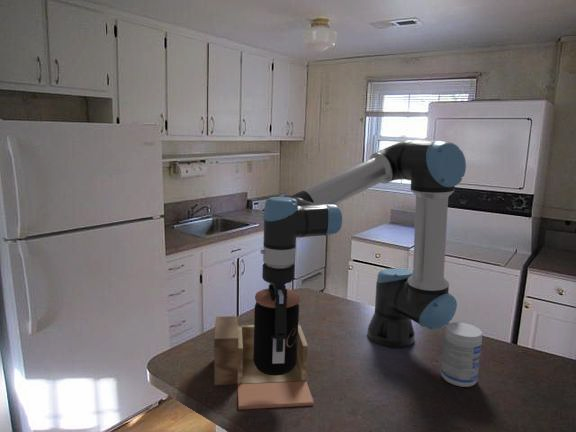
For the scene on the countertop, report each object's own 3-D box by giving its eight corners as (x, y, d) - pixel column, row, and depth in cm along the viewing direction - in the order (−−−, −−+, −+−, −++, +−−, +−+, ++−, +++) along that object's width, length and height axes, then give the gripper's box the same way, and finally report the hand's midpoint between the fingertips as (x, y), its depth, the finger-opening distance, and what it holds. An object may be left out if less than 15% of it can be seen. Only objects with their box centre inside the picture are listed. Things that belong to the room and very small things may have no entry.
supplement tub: (478, 391, 113) (485, 340, 110) (440, 384, 115) (446, 334, 112) (474, 372, 122) (480, 324, 119) (439, 366, 124) (444, 319, 122)
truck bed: (298, 358, 126) (300, 314, 123) (305, 384, 113) (308, 335, 110) (215, 362, 122) (215, 316, 119) (213, 389, 110) (213, 338, 107)
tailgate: (306, 381, 112) (313, 402, 103) (306, 384, 112) (313, 405, 103) (237, 384, 110) (238, 406, 100) (237, 388, 110) (238, 410, 100)
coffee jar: (292, 380, 98) (295, 307, 95) (247, 373, 100) (249, 301, 97) (300, 357, 109) (303, 290, 105) (259, 351, 111) (261, 285, 107)
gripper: (259, 249, 110) (257, 329, 114) (267, 280, 88) (264, 377, 92) (287, 249, 111) (284, 328, 115) (302, 280, 89) (298, 376, 93)
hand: (275, 350), depth 104 cm, fingers closed on coffee jar, 11 cm apart
